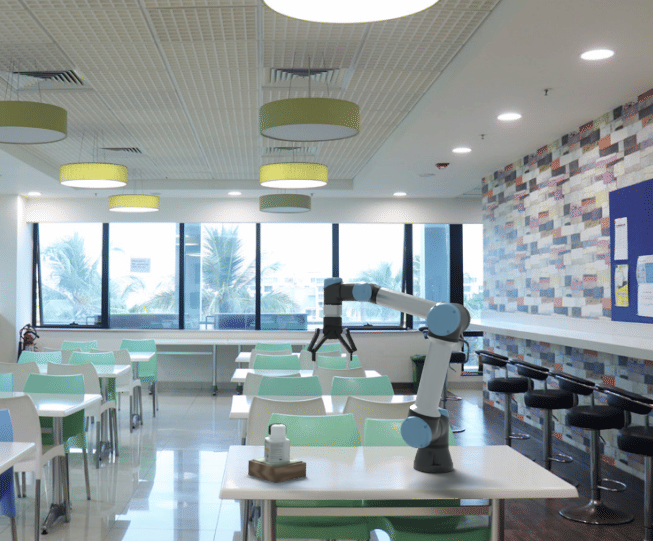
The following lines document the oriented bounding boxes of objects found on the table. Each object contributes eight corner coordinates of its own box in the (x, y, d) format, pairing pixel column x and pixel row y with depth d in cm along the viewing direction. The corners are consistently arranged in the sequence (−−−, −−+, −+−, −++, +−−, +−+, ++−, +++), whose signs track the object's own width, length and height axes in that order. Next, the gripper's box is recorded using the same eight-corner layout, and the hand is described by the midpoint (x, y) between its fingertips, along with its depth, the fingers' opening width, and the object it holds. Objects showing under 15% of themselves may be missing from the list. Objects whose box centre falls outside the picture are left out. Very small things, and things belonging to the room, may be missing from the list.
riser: (306, 476, 248) (306, 461, 248) (276, 482, 238) (276, 466, 239) (278, 468, 259) (278, 453, 260) (248, 474, 250) (248, 459, 250)
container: (264, 458, 252) (264, 422, 252) (284, 457, 254) (284, 421, 255) (269, 463, 244) (269, 426, 245) (290, 461, 247) (290, 425, 248)
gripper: (358, 316, 281) (357, 368, 280) (300, 315, 273) (299, 369, 272) (365, 316, 274) (364, 369, 273) (305, 315, 266) (304, 370, 265)
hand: (332, 369), depth 272 cm, fingers open, 13 cm apart
